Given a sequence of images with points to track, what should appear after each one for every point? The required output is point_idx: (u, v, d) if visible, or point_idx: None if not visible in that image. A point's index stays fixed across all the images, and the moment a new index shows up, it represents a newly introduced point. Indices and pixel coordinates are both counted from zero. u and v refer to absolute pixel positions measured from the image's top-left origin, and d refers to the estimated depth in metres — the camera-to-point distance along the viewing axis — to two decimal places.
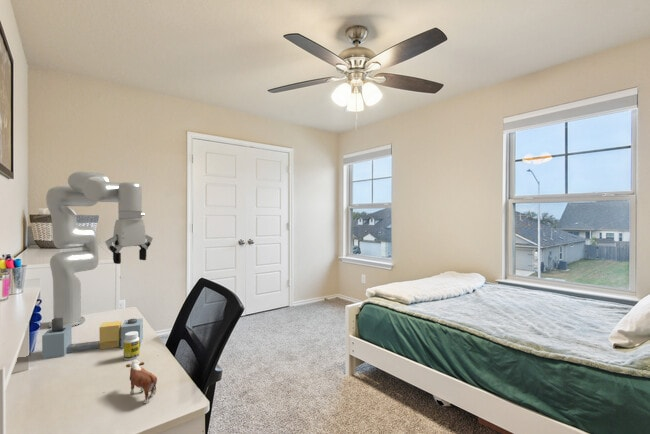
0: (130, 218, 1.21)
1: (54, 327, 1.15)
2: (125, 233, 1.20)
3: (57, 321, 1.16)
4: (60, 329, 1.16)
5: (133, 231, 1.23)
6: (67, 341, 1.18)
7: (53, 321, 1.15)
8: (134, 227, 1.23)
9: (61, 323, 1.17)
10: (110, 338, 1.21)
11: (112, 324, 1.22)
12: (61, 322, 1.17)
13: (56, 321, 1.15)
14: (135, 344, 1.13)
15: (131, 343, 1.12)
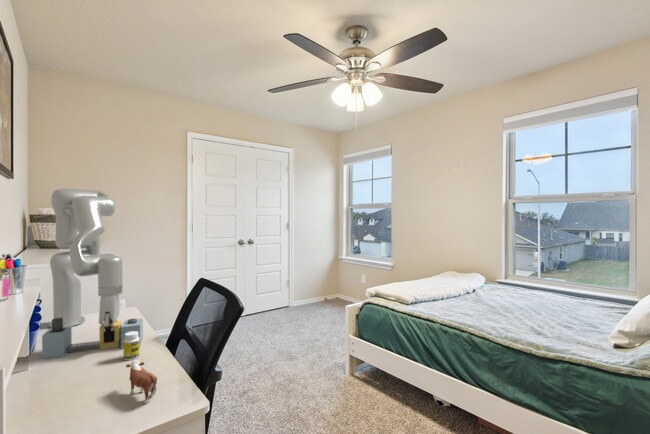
0: (119, 292, 1.22)
1: (54, 327, 1.15)
2: (116, 308, 1.21)
3: (57, 321, 1.16)
4: (60, 329, 1.16)
5: (118, 304, 1.23)
6: (67, 341, 1.18)
7: (53, 321, 1.15)
8: (118, 300, 1.24)
9: (61, 323, 1.17)
10: None
11: None
12: (61, 322, 1.17)
13: (56, 321, 1.15)
14: (135, 344, 1.13)
15: (131, 343, 1.12)
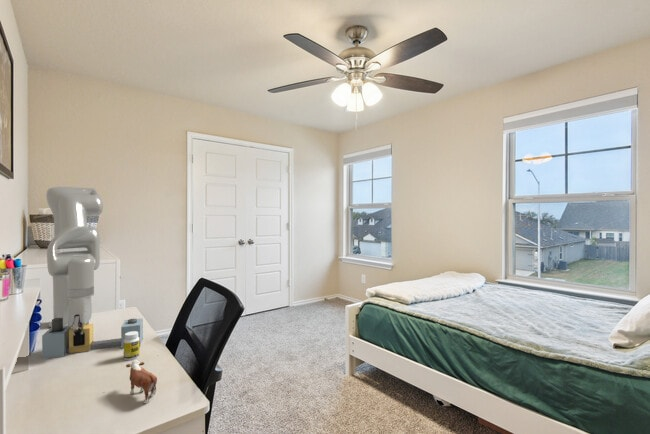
0: (90, 295, 1.19)
1: (54, 327, 1.15)
2: (86, 311, 1.17)
3: (57, 321, 1.16)
4: (60, 329, 1.16)
5: (89, 307, 1.20)
6: (67, 341, 1.18)
7: (53, 321, 1.15)
8: (89, 303, 1.20)
9: (61, 323, 1.17)
10: None
11: None
12: (61, 322, 1.17)
13: (56, 321, 1.15)
14: (135, 344, 1.13)
15: (131, 343, 1.12)
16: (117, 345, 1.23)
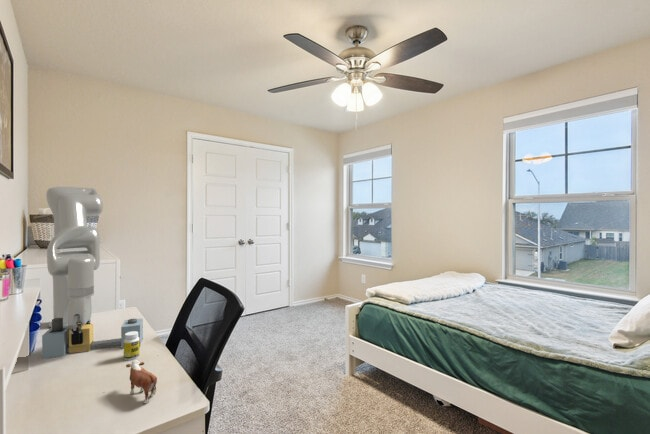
0: (90, 294, 1.19)
1: (54, 327, 1.15)
2: (86, 311, 1.17)
3: (57, 321, 1.16)
4: (60, 329, 1.16)
5: (89, 306, 1.20)
6: (67, 341, 1.18)
7: (53, 321, 1.15)
8: (89, 302, 1.20)
9: (61, 323, 1.17)
10: None
11: (83, 327, 1.19)
12: (61, 322, 1.17)
13: (56, 321, 1.15)
14: (135, 344, 1.13)
15: (131, 343, 1.12)
16: (117, 345, 1.23)
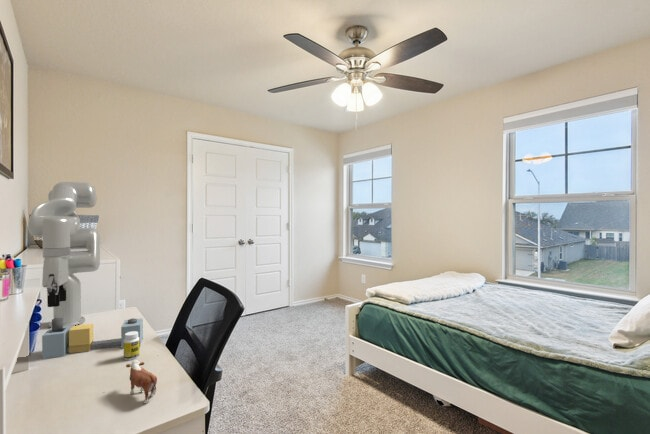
0: (66, 255, 1.15)
1: (54, 327, 1.15)
2: (61, 271, 1.14)
3: (57, 321, 1.16)
4: (60, 329, 1.16)
5: (65, 268, 1.17)
6: (67, 341, 1.18)
7: (53, 321, 1.15)
8: (65, 264, 1.17)
9: (61, 323, 1.17)
10: (80, 342, 1.17)
11: (83, 327, 1.19)
12: (61, 322, 1.17)
13: (56, 321, 1.15)
14: (135, 344, 1.13)
15: (131, 343, 1.12)
16: (117, 345, 1.23)
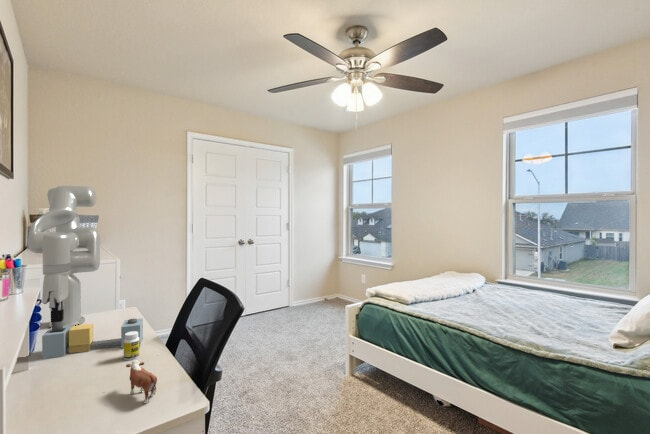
0: (66, 271, 1.16)
1: (54, 329, 1.15)
2: (61, 288, 1.14)
3: (57, 323, 1.16)
4: (60, 331, 1.16)
5: (65, 284, 1.17)
6: (67, 341, 1.18)
7: (53, 323, 1.15)
8: (65, 280, 1.17)
9: (61, 325, 1.17)
10: (80, 342, 1.17)
11: (83, 327, 1.19)
12: (61, 324, 1.17)
13: (56, 323, 1.15)
14: (135, 344, 1.13)
15: (131, 343, 1.12)
16: (117, 345, 1.23)
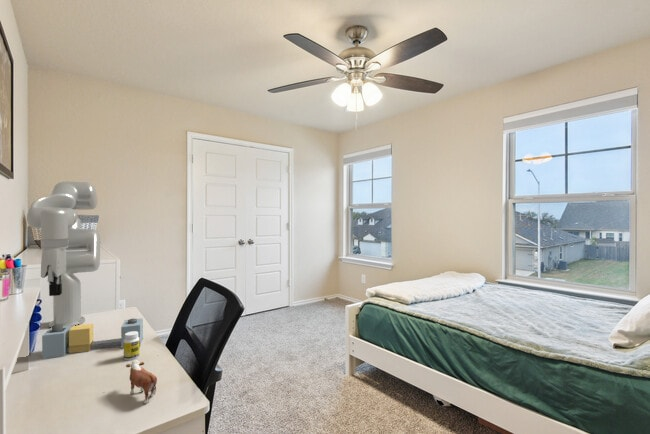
0: (64, 246, 1.17)
1: None
2: (59, 262, 1.16)
3: (57, 327, 1.16)
4: None
5: (63, 259, 1.18)
6: (67, 341, 1.18)
7: (53, 327, 1.15)
8: (63, 255, 1.19)
9: (61, 329, 1.17)
10: (80, 342, 1.17)
11: (83, 327, 1.19)
12: (61, 328, 1.17)
13: (56, 327, 1.15)
14: (135, 344, 1.13)
15: (131, 343, 1.12)
16: (117, 345, 1.23)
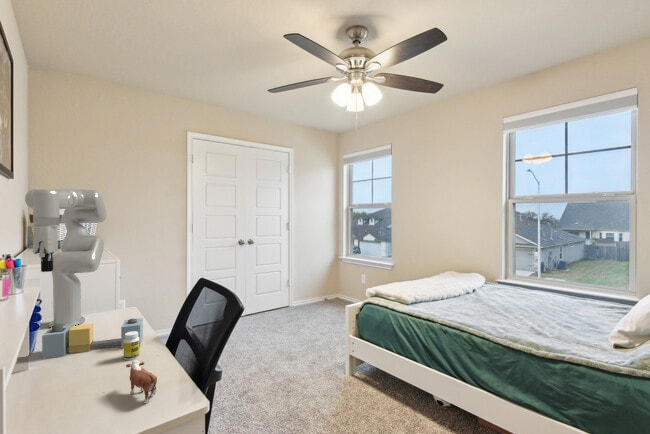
0: (55, 225, 1.24)
1: None
2: (51, 239, 1.22)
3: (57, 327, 1.16)
4: None
5: (54, 237, 1.25)
6: (67, 341, 1.18)
7: (53, 327, 1.15)
8: (55, 233, 1.25)
9: (61, 329, 1.17)
10: (80, 342, 1.17)
11: (83, 327, 1.19)
12: (61, 328, 1.17)
13: (56, 327, 1.15)
14: (135, 344, 1.13)
15: (131, 343, 1.12)
16: (117, 345, 1.23)
